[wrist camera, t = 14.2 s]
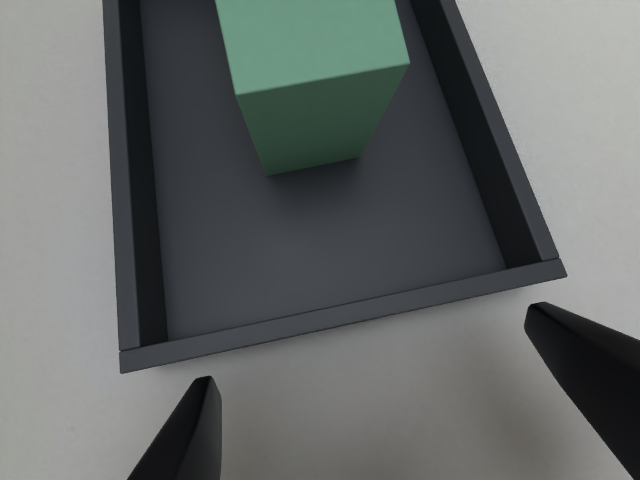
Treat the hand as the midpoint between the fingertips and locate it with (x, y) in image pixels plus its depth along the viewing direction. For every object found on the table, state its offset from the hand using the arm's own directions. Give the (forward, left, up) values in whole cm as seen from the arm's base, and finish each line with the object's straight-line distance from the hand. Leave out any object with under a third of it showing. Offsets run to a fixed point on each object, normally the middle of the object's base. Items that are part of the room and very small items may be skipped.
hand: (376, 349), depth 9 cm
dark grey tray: (+8, +8, -6) cm, 13 cm away
